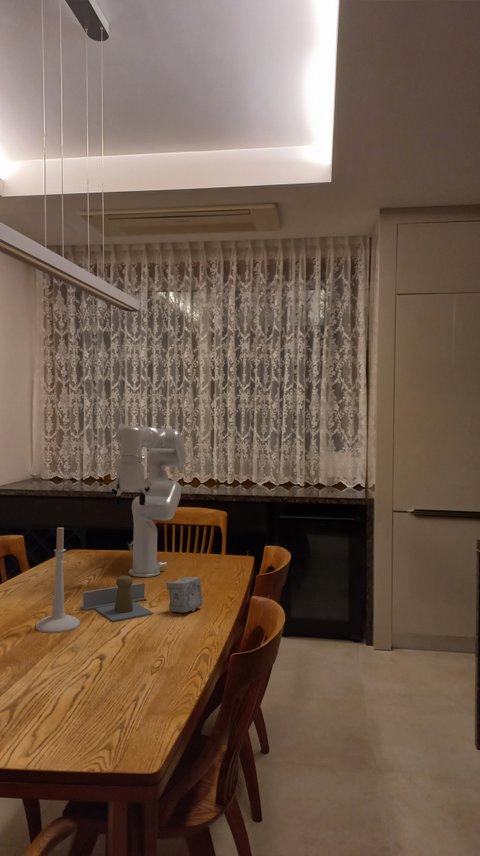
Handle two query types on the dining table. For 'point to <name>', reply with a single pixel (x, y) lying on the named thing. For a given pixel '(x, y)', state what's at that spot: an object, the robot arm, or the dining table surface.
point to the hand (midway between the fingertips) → (130, 505)
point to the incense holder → (185, 594)
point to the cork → (124, 595)
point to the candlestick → (58, 598)
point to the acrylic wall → (110, 596)
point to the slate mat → (114, 616)
